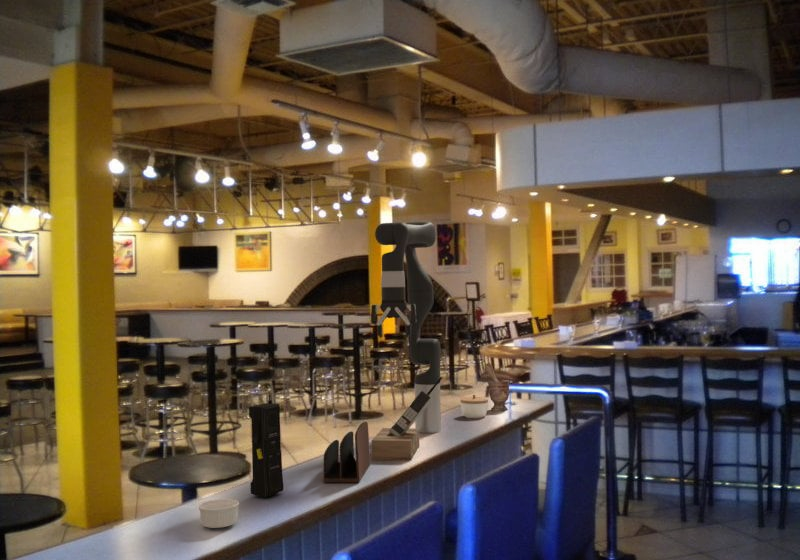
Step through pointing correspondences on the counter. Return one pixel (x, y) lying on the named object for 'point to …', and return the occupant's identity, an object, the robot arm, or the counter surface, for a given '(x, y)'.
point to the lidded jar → (474, 407)
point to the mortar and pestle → (497, 390)
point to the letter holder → (348, 457)
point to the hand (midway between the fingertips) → (394, 337)
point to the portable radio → (266, 449)
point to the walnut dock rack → (395, 445)
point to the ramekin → (219, 513)
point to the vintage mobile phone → (412, 413)
